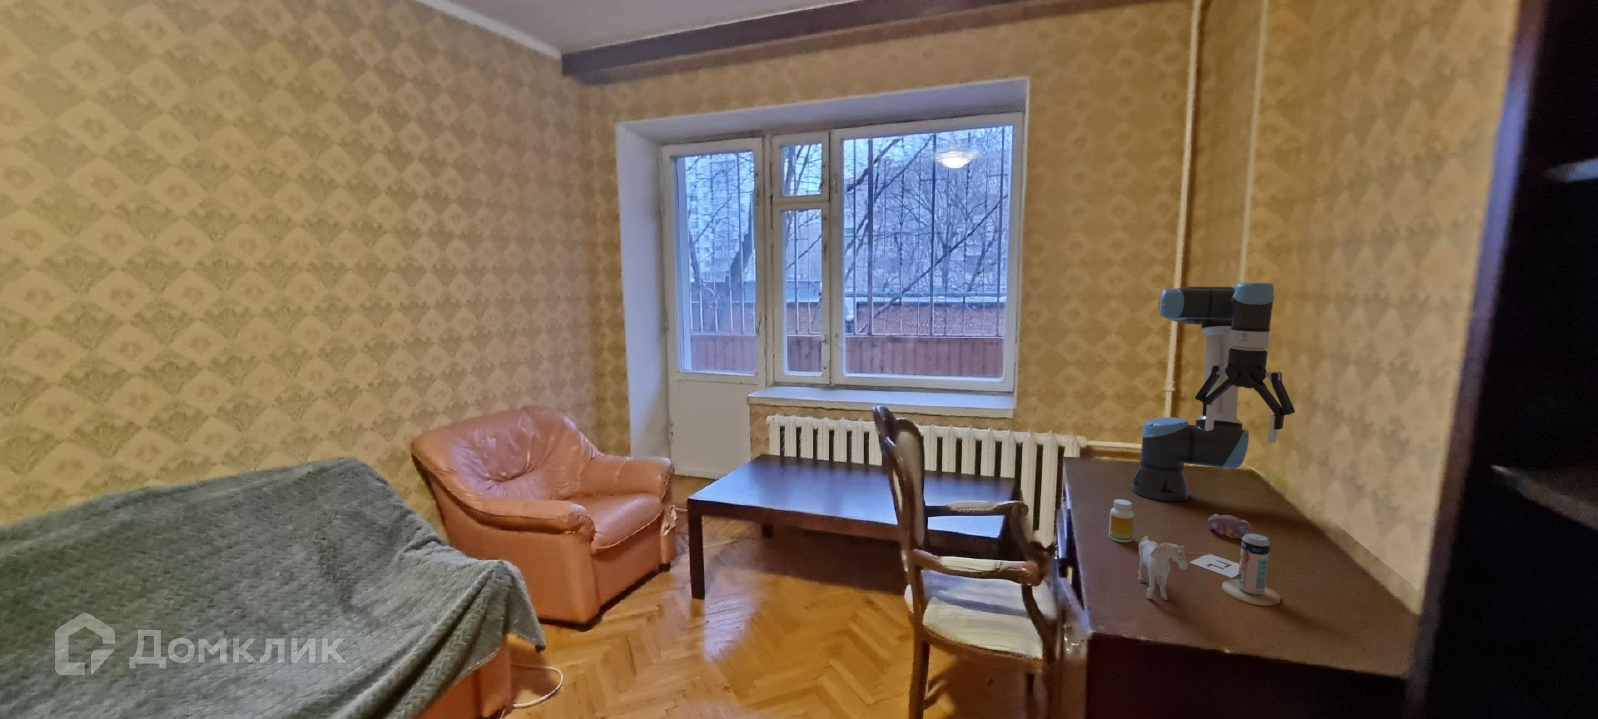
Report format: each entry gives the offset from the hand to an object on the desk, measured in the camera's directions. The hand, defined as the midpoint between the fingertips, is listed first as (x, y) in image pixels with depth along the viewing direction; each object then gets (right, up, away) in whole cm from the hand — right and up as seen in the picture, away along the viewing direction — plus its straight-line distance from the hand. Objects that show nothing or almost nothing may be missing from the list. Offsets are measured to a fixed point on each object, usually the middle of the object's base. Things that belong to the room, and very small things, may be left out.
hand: (1239, 436), depth 154 cm
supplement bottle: (-24, -27, +9) cm, 38 cm away
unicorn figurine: (-28, -31, -20) cm, 47 cm away
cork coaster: (-11, -31, -19) cm, 38 cm away
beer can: (-11, -31, -19) cm, 38 cm away
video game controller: (+5, -27, +11) cm, 30 cm away
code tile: (-9, -29, -6) cm, 31 cm away
